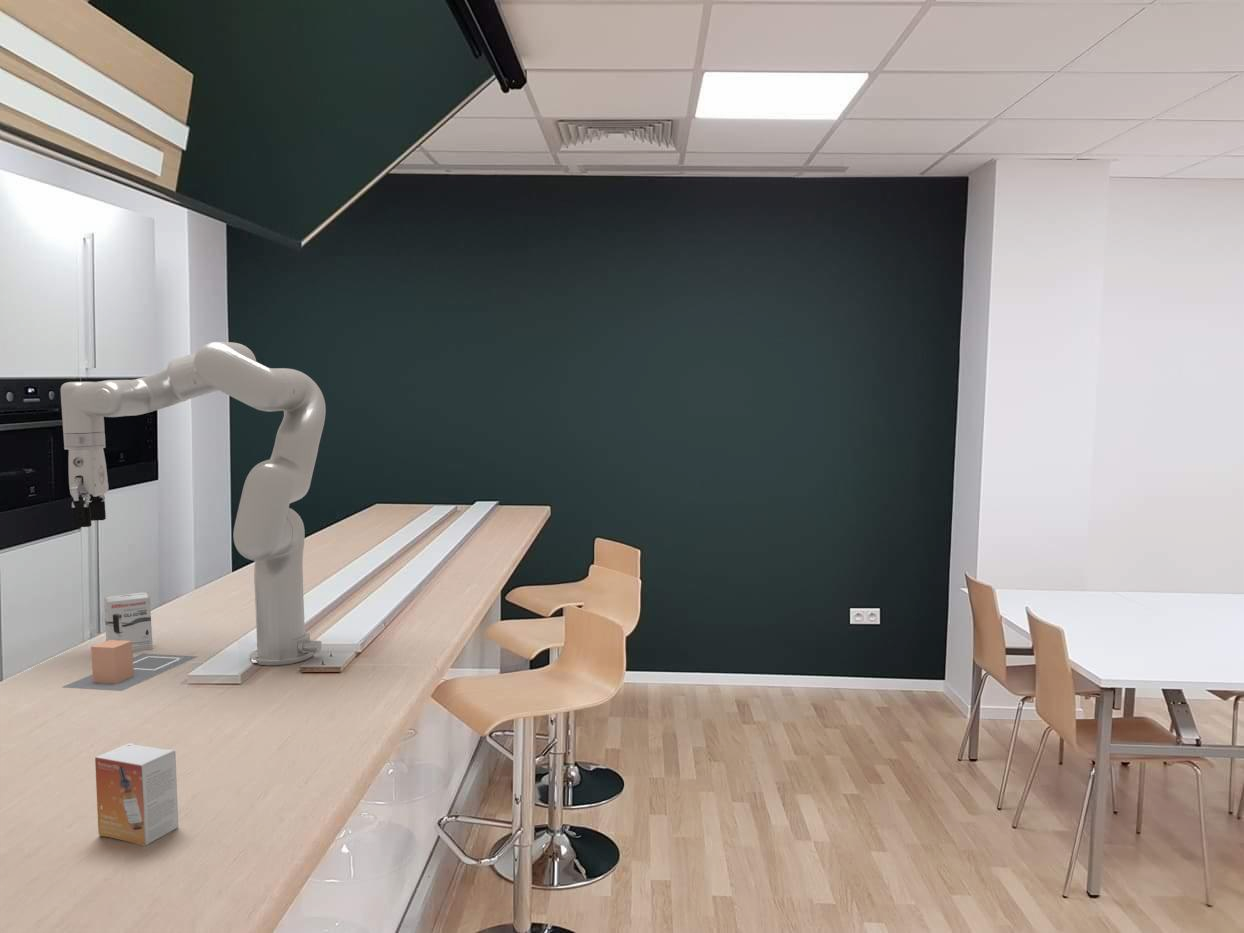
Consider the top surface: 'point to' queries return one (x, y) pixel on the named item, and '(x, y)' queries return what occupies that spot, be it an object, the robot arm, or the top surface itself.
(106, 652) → the block
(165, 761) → the small box
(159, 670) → the mat
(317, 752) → the top surface
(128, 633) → the ink box
